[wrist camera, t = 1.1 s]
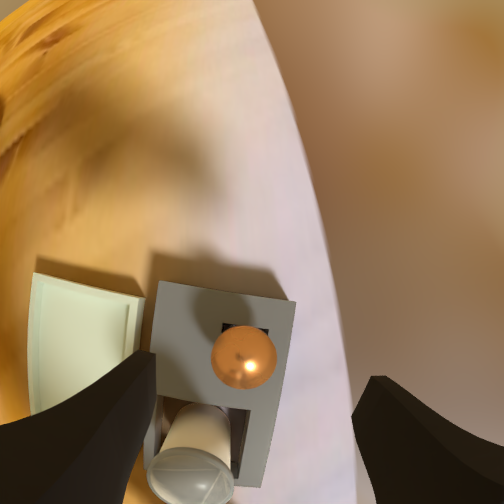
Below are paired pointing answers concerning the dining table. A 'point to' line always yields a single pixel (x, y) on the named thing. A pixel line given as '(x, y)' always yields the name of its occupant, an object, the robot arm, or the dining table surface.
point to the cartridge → (194, 458)
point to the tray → (76, 336)
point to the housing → (200, 368)
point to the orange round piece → (243, 357)
